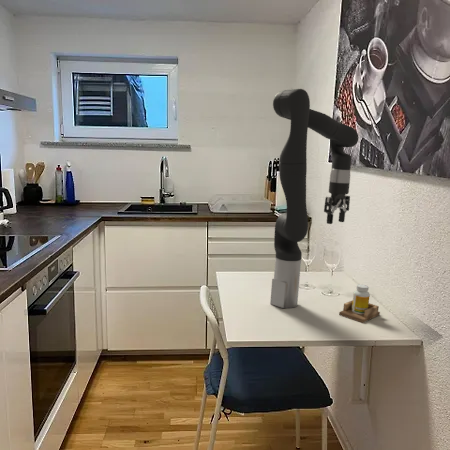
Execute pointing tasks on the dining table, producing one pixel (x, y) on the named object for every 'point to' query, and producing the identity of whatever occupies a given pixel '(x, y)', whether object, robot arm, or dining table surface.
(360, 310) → the supplement bottle
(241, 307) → the dining table surface
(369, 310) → the u rest
